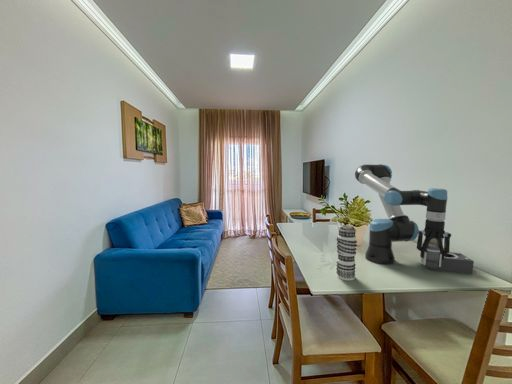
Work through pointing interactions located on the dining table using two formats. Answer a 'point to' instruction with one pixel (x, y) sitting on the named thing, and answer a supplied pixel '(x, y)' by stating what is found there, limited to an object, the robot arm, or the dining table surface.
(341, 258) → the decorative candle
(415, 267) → the dining table surface
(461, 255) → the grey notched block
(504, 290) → the dining table surface
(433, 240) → the coffee cup
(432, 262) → the lens
